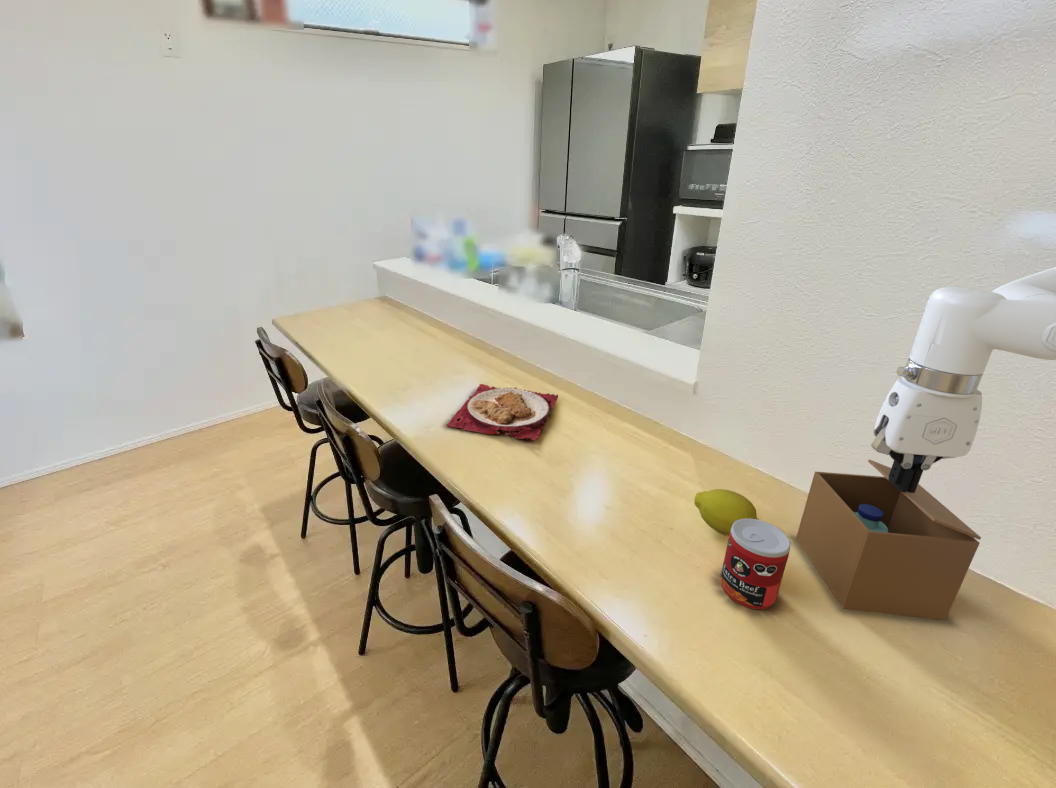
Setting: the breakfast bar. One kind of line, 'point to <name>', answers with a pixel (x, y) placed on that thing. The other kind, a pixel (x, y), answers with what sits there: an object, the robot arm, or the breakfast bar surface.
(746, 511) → the lemon
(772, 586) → the canned food
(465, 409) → the plate with food
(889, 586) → the carton
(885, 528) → the bottle
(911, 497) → the flap
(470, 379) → the breakfast bar surface
